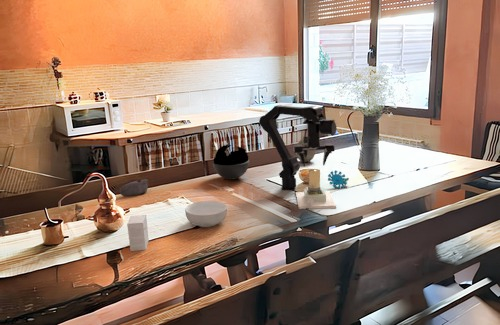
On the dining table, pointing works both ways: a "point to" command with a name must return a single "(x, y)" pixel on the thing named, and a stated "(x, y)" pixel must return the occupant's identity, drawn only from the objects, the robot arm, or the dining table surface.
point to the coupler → (314, 182)
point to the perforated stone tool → (134, 188)
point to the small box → (138, 232)
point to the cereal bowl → (206, 213)
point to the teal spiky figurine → (337, 179)
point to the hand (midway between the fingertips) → (313, 165)
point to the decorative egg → (306, 152)
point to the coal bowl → (231, 162)
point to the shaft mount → (315, 200)
